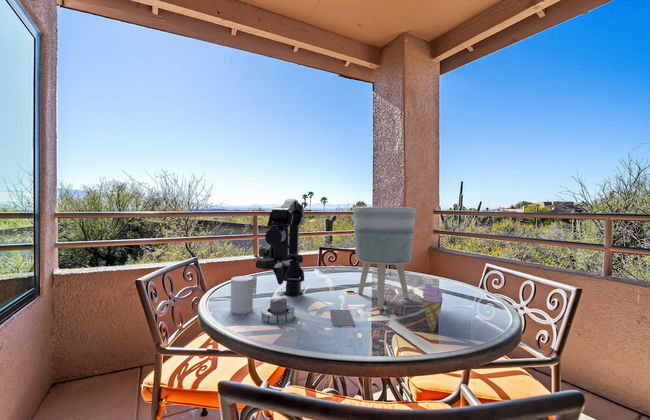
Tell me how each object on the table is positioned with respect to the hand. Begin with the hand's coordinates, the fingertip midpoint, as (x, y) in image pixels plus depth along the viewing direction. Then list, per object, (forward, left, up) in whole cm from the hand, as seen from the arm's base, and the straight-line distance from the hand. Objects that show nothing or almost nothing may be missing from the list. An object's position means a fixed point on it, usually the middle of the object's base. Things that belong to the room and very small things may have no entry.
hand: (280, 284), depth 105 cm
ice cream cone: (-23, +48, -11) cm, 54 cm away
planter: (-41, +21, -11) cm, 47 cm away
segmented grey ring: (+2, +2, -11) cm, 11 cm away
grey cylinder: (+6, -14, -11) cm, 19 cm away
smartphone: (-12, +20, -12) cm, 26 cm away
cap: (+2, +2, -11) cm, 11 cm away
